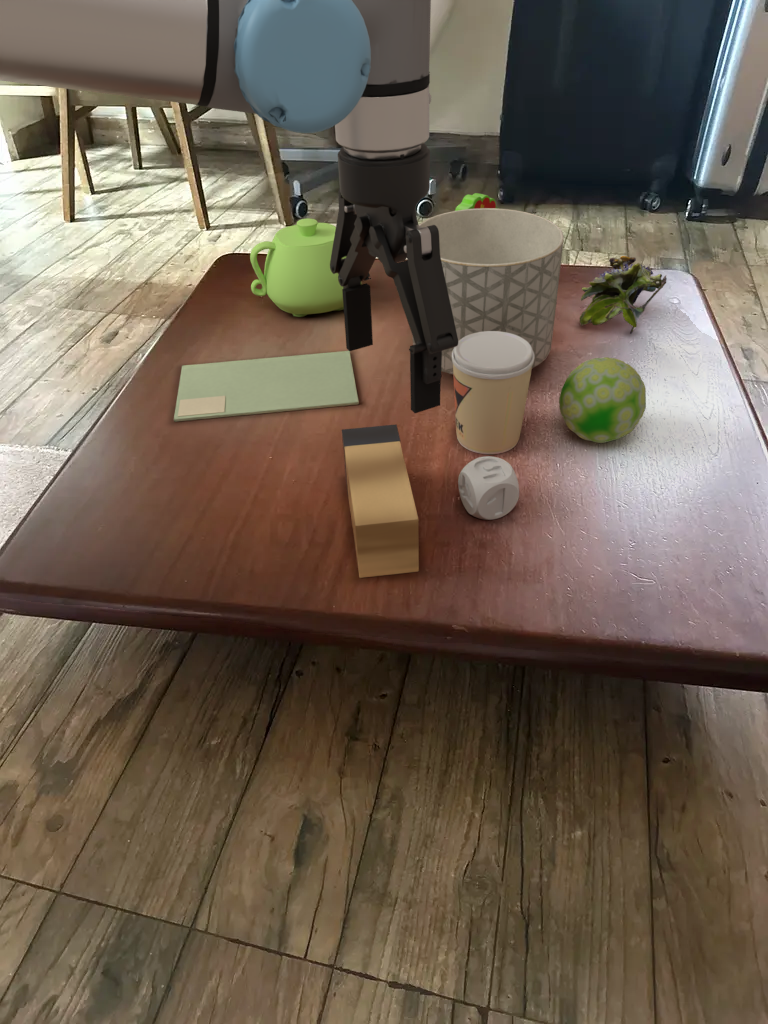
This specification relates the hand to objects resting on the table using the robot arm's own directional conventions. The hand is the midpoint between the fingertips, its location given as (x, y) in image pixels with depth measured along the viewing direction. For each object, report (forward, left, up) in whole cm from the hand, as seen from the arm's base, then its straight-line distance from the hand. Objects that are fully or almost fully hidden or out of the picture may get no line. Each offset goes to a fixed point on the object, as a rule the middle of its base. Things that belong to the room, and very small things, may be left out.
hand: (390, 375), depth 77 cm
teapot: (-5, +53, -16) cm, 55 cm away
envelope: (-14, +28, -16) cm, 35 cm away
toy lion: (+18, +51, -16) cm, 56 cm away
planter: (+16, +29, -16) cm, 36 cm away
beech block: (-2, -3, -16) cm, 16 cm away
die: (+10, -2, -16) cm, 19 cm away
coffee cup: (+13, +11, -16) cm, 23 cm away
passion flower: (+39, +37, -16) cm, 56 cm away
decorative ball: (+26, +9, -16) cm, 32 cm away
